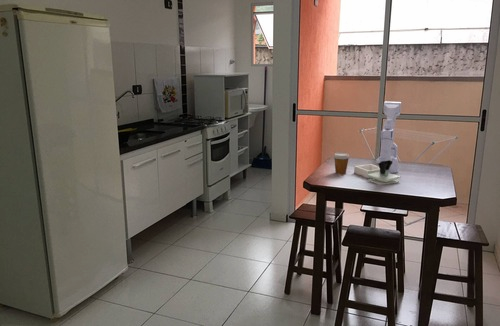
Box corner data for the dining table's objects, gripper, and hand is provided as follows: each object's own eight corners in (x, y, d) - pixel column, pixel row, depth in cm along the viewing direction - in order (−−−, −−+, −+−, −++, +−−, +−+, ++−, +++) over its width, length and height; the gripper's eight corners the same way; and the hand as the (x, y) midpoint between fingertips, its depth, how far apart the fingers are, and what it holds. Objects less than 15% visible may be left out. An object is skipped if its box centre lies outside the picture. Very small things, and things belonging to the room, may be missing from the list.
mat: (387, 177, 248) (387, 177, 248) (399, 182, 239) (399, 181, 239) (368, 180, 242) (368, 179, 242) (379, 184, 233) (379, 184, 233)
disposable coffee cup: (348, 175, 253) (349, 156, 250) (332, 174, 255) (333, 155, 252) (348, 171, 262) (349, 153, 259) (332, 170, 264) (333, 152, 261)
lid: (381, 174, 249) (381, 165, 248) (400, 179, 239) (401, 170, 238) (367, 177, 242) (368, 168, 240) (386, 183, 232) (387, 174, 230)
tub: (370, 171, 263) (371, 164, 262) (385, 176, 252) (385, 168, 250) (354, 173, 258) (354, 166, 257) (367, 178, 246) (368, 171, 245)
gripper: (387, 147, 244) (385, 170, 247) (372, 150, 235) (370, 174, 238) (398, 149, 238) (396, 172, 241) (382, 152, 230) (380, 176, 233)
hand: (384, 173), depth 240 cm, fingers closed on lid, 2 cm apart
